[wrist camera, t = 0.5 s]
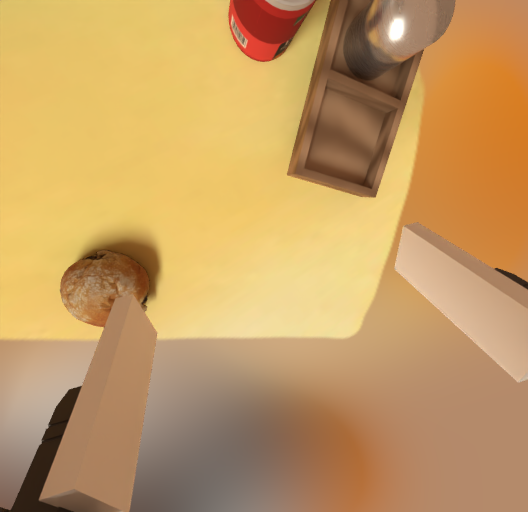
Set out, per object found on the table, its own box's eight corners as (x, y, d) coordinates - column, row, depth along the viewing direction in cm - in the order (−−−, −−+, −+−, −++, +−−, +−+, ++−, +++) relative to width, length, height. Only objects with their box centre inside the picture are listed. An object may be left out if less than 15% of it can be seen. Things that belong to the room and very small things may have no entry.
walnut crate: (361, 196, 40) (375, 197, 37) (286, 175, 37) (295, 173, 33) (417, 19, 35) (439, 1, 32) (337, -27, 32) (353, -51, 28)
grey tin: (335, 27, 32) (382, -31, 24) (384, 4, 33) (447, -60, 24) (353, 89, 35) (402, 58, 26) (399, 67, 35) (460, 29, 27)
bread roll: (142, 245, 38) (114, 232, 30) (167, 308, 37) (145, 311, 29) (77, 271, 37) (30, 266, 29) (101, 337, 36) (59, 350, 28)
